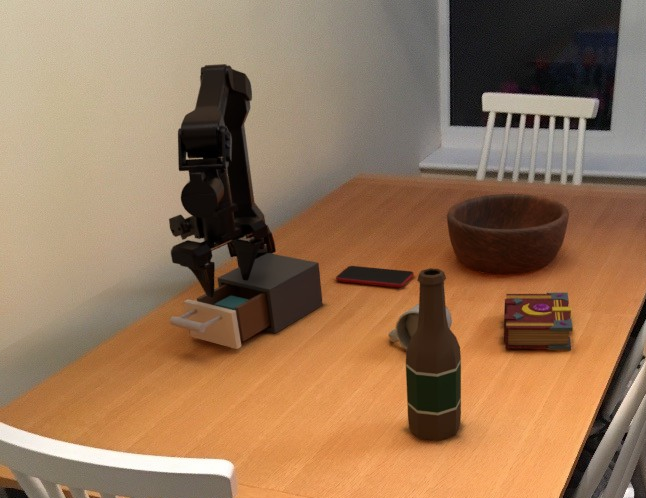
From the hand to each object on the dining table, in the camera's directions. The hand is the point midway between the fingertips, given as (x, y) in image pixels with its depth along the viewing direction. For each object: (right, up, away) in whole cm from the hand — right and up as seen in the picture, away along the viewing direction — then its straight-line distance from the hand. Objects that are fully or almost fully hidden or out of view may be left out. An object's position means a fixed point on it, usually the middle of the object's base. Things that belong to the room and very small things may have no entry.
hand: (228, 288), depth 148 cm
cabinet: (+7, -2, +13) cm, 14 cm away
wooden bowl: (+54, +13, +30) cm, 63 cm away
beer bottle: (+35, -27, -25) cm, 51 cm away
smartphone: (+26, +7, +24) cm, 36 cm away
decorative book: (+55, -8, 0) cm, 55 cm away
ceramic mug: (+34, -10, -2) cm, 35 cm away
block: (+1, -6, +4) cm, 7 cm away
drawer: (-1, -8, +3) cm, 8 cm away
